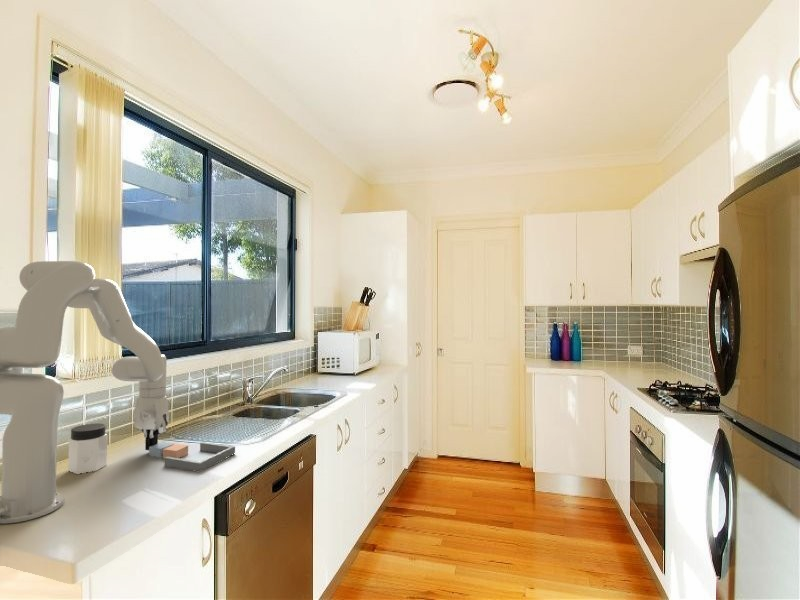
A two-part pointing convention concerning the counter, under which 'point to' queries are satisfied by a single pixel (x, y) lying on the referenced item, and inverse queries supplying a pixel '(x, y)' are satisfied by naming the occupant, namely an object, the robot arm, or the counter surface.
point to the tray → (221, 454)
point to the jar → (87, 448)
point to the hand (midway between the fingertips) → (151, 448)
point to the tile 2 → (175, 451)
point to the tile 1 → (158, 449)
